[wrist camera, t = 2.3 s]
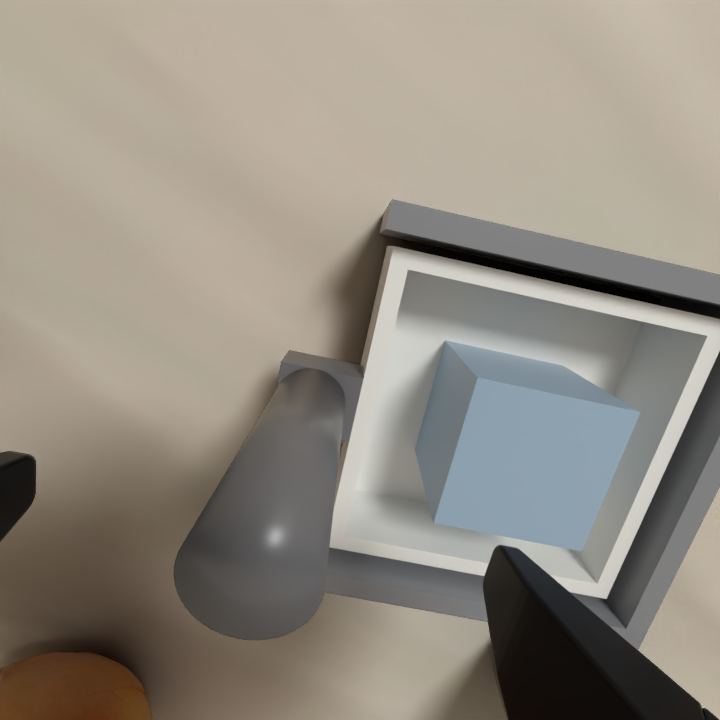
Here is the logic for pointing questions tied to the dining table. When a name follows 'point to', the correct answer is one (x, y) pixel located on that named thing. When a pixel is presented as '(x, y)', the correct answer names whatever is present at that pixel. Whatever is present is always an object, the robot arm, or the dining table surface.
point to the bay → (677, 486)
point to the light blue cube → (519, 446)
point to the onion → (71, 689)
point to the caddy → (400, 434)
